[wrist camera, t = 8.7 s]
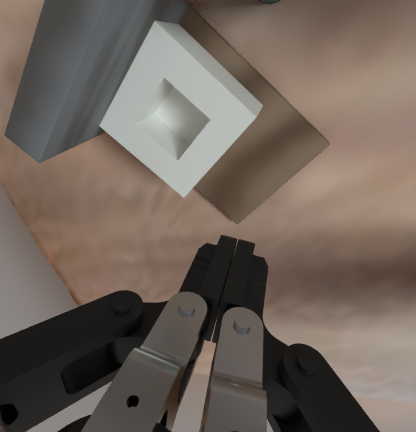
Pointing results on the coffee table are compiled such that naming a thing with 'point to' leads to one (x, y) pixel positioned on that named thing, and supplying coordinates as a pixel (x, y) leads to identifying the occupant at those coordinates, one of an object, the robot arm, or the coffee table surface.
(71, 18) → the jig
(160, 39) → the socket
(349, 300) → the coffee table surface
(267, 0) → the dowel
